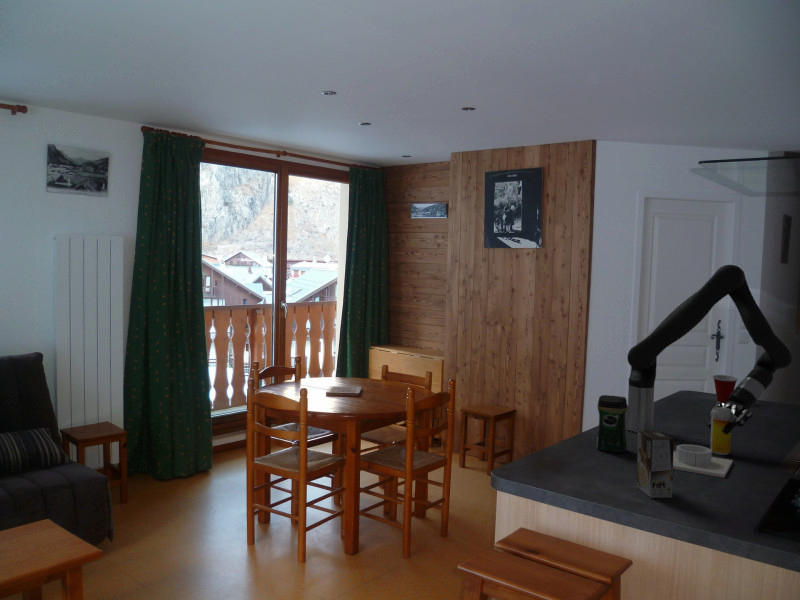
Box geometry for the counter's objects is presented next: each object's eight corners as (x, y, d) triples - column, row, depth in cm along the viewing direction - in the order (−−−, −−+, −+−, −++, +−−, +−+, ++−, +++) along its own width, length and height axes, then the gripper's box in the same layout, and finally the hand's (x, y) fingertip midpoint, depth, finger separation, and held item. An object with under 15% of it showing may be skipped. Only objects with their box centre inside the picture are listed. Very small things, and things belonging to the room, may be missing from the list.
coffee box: (673, 498, 171) (675, 438, 171) (650, 498, 171) (652, 439, 170) (656, 486, 181) (658, 430, 180) (635, 487, 180) (636, 430, 179)
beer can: (732, 456, 212) (734, 411, 211) (712, 454, 213) (714, 410, 212) (727, 450, 218) (728, 407, 217) (707, 449, 219) (709, 406, 218)
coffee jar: (628, 449, 219) (629, 395, 218) (624, 454, 212) (625, 399, 211) (599, 445, 224) (600, 392, 223) (594, 450, 217) (595, 396, 216)
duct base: (653, 465, 200) (654, 449, 200) (666, 452, 215) (666, 437, 215) (724, 477, 189) (724, 461, 189) (732, 463, 204) (733, 447, 204)
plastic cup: (715, 403, 300) (716, 378, 299) (708, 399, 310) (709, 374, 310) (740, 404, 298) (741, 379, 298) (732, 400, 309) (733, 375, 308)
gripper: (724, 382, 223) (695, 418, 220) (758, 390, 209) (726, 428, 207) (736, 397, 225) (707, 432, 222) (770, 405, 211) (739, 443, 208)
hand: (716, 430), depth 214 cm, fingers closed on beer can, 6 cm apart
